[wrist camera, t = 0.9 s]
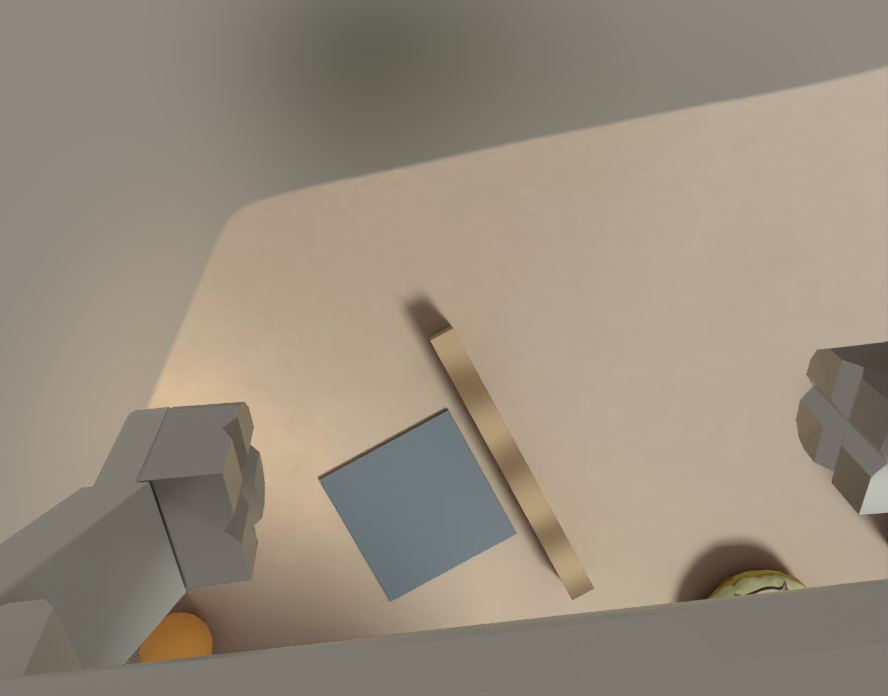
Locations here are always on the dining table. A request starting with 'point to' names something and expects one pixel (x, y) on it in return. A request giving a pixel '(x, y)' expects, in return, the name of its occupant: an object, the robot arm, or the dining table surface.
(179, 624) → the ball
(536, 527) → the rail
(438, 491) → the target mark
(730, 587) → the decorated donut
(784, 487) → the dining table surface
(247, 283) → the dining table surface
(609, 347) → the dining table surface
